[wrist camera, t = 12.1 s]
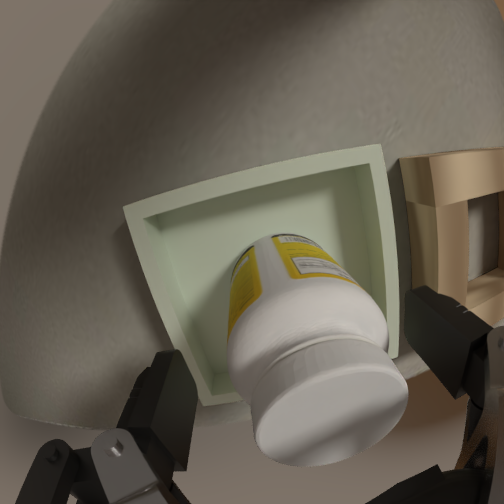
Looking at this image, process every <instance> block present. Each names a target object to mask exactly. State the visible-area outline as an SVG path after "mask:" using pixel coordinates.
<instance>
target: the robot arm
mask: <svg viewBox="0 0 504 504" xmlns="http://www.w3.org/2000/svg"><path fill="white" fill-rule="evenodd" d="M404 331H405V336H406V339H407V341H408V343H409V344H410V345H411V347H412V348H413V349H414V350H415V351H416V352H417V354H418V355H419V356H420V357H421V358H422V360H423V361H424V362H425V363H426V364H427V366H428V367H429V368H430V369H431V370H432V372H433V373H434V374H435V375H436V376H437V378H438V379H439V380H440V381H441V383H442V384H443V385H444V386H445V388H446V389H447V390H448V391H449V392H450V394H451V395H452V396H453V398H454V399H457V398H459V397H461V396H462V395H464V394H466V393H467V394H468V395H469V396H470V397H469V400H468V403H467V413H466V422H465V430H464V437H463V444H462V449H461V452H460V455H459V458H458V460H457V463H456V466H455V468H454V470H450V471H444V472H441V470H440V468H439V466H438V465H435V466H433V467H431V468H429V469H427V470H425V471H423V472H421V473H419V474H417V475H415V476H413V477H411V478H408V479H406V480H404V481H402V482H399V483H397V484H396V485H394V486H393V487H391V488H390V489H388V490H387V491H385V492H384V493H382V494H380V495H379V496H377V497H376V498H374V499H372V500H371V501H369V502H367V503H365V504H504V326H500V327H496V328H492V327H491V326H490V325H489V324H487V323H486V322H485V321H483V320H482V319H481V318H479V317H478V316H477V315H475V314H474V313H473V312H471V311H468V309H467V308H466V307H465V306H463V305H462V306H461V303H459V302H458V301H456V300H455V299H454V298H452V297H449V296H446V295H443V294H440V293H439V294H438V293H437V292H435V291H434V290H432V289H431V288H430V287H428V286H427V285H423V286H420V287H417V288H415V289H412V290H409V291H407V292H406V294H405V319H404ZM197 400H198V390H197V386H196V383H195V380H194V378H193V376H192V374H191V372H190V370H189V368H188V366H187V364H186V361H185V359H184V357H183V355H182V353H181V352H180V350H178V349H175V350H168V351H162V352H157V353H156V355H155V358H154V360H153V362H152V365H151V367H147V368H146V369H145V370H144V371H143V372H142V373H141V374H140V375H139V376H138V378H137V380H136V382H135V384H134V387H133V390H132V391H131V393H130V398H128V400H127V403H126V405H125V407H124V410H123V412H122V415H121V417H120V419H119V422H118V424H117V427H116V428H114V429H110V430H107V431H105V432H103V433H101V434H100V435H99V436H98V437H97V438H96V439H95V440H94V442H93V444H92V446H91V447H89V448H83V449H77V450H73V449H72V448H71V447H70V446H69V445H68V444H67V443H66V442H65V441H63V440H60V439H54V440H51V441H49V442H47V443H45V444H44V445H43V446H42V447H41V448H40V449H39V451H38V453H37V455H36V457H35V459H34V461H33V464H32V466H31V468H30V470H29V472H28V474H27V477H26V479H25V481H24V484H23V486H22V488H21V491H20V493H19V496H18V498H17V500H16V503H15V504H67V501H68V497H69V494H71V495H72V496H74V497H75V498H76V499H77V503H76V504H191V503H190V502H189V500H188V499H187V498H186V497H185V495H184V494H183V493H182V492H181V490H180V489H179V487H178V486H177V485H176V483H175V482H174V481H173V480H172V477H173V472H174V471H186V470H187V463H188V457H189V450H190V443H191V437H192V431H193V424H194V418H195V412H196V406H197Z"/></svg>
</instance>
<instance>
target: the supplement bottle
mask: <svg viewBox="0 0 504 504" xmlns="http://www.w3.org/2000/svg"><path fill="white" fill-rule="evenodd" d="M388 349H389V331H388V327H387V323H386V320H385V318H384V315H383V313H382V311H381V310H380V308H379V306H378V305H377V304H376V303H375V301H374V300H373V299H372V297H371V296H370V295H369V294H368V293H367V292H366V291H365V290H364V289H363V288H362V287H361V286H360V285H359V284H358V283H357V282H356V281H355V280H354V279H353V278H352V277H351V276H350V275H349V274H348V273H347V272H346V271H345V270H344V269H343V268H342V267H341V266H340V265H339V264H338V263H337V262H336V261H335V260H334V259H333V258H332V257H331V256H330V255H329V254H328V253H327V252H326V251H325V250H323V248H322V247H320V246H319V245H318V244H317V243H315V242H314V241H312V240H310V239H309V238H307V237H304V236H302V235H299V234H294V233H275V234H270V235H267V236H264V237H262V238H260V239H258V240H256V241H255V242H253V243H252V244H251V245H249V246H248V247H247V248H246V249H245V250H244V251H243V252H242V254H241V255H240V256H239V258H238V260H237V261H236V263H235V265H234V268H233V272H232V276H231V284H230V301H229V319H228V335H227V367H228V373H229V376H230V379H231V381H232V384H233V386H234V388H235V389H236V391H237V392H238V394H239V395H240V396H241V397H242V398H243V399H244V400H245V401H246V402H247V403H248V404H249V405H250V406H251V414H252V421H253V432H254V438H255V442H256V444H257V446H258V448H259V449H260V451H262V453H263V454H264V455H266V456H267V457H269V458H270V459H272V460H274V461H276V462H279V463H282V464H286V465H290V466H319V465H325V464H330V463H335V462H338V461H341V460H344V459H347V458H350V457H352V456H354V455H357V454H359V453H361V452H363V451H365V450H366V449H368V448H369V447H371V446H373V445H374V444H376V443H377V442H378V441H379V440H381V439H382V438H383V437H385V436H386V434H388V433H389V432H390V431H391V430H392V429H393V427H394V426H395V425H396V424H397V423H398V421H399V420H400V418H401V416H402V415H403V413H404V410H405V408H406V405H407V402H408V388H407V384H406V381H405V379H404V378H403V376H402V375H401V373H400V372H399V370H398V369H397V367H396V366H395V364H394V363H393V361H392V360H391V358H390V357H389V355H388Z"/></svg>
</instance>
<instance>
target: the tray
mask: <svg viewBox="0 0 504 504" xmlns="http://www.w3.org/2000/svg"><path fill="white" fill-rule="evenodd" d="M123 210H124V214H125V217H126V221H127V224H128V227H129V230H130V233H131V237H132V240H133V243H134V246H135V249H136V252H137V255H138V258H139V261H140V263H141V266H142V269H143V272H144V275H145V277H146V280H147V283H148V285H149V288H150V291H151V293H152V296H153V299H154V301H155V304H156V306H157V309H158V311H159V313H160V316H161V318H162V321H163V323H164V325H165V328H166V330H167V332H168V335H169V337H170V339H171V341H172V344H173V346H174V348H175V349H178V350H180V352H181V353H182V355H183V357H184V359H185V361H186V364H187V366H188V368H189V370H190V372H191V374H192V376H193V378H194V380H195V383H196V386H197V390H198V397H199V399H200V401H201V403H202V405H203V406H210V405H218V404H225V403H231V402H237V401H243V400H244V399H243V398H242V397H241V396H240V395H239V394H238V392H237V391H236V389H235V388H234V386H233V384H232V381H231V379H230V376H229V373H228V367H227V335H228V319H229V301H230V284H231V276H232V272H233V268H234V265H235V263H236V261H237V260H238V258H239V256H240V255H241V254H242V252H243V251H244V250H245V249H246V248H247V247H248V246H249V245H251V244H252V243H253V242H255V241H256V240H258V239H260V238H262V237H264V236H267V235H270V234H275V233H294V234H299V235H302V236H304V237H307V238H309V239H310V240H312V241H314V242H315V243H317V244H318V245H319V246H320V247H322V248H323V250H325V251H326V252H327V253H328V254H329V255H330V256H331V257H332V258H333V259H334V260H335V261H336V262H337V263H338V264H339V265H340V266H341V267H342V268H343V269H344V270H345V271H346V272H347V273H348V274H349V275H350V276H351V277H352V278H353V279H354V280H355V281H356V282H357V283H358V284H359V285H360V286H361V287H362V288H363V289H364V290H365V291H366V292H367V293H368V294H369V295H370V296H371V297H372V299H373V300H374V301H375V303H376V304H377V305H378V306H379V308H380V310H381V311H382V313H383V315H384V318H385V320H386V323H387V327H388V331H389V349H388V355H389V357H390V358H391V359H393V358H396V357H398V348H399V279H398V261H397V248H396V237H395V228H394V219H393V211H392V204H391V197H390V191H389V184H388V179H387V173H386V168H385V163H384V158H383V153H382V148H381V144H375V145H368V146H361V147H355V148H349V149H343V150H337V151H331V152H326V153H320V154H315V155H310V156H305V157H300V158H295V159H290V160H286V161H281V162H277V163H272V164H268V165H263V166H259V167H255V168H251V169H247V170H243V171H239V172H235V173H231V174H227V175H223V176H220V177H216V178H212V179H209V180H205V181H202V182H198V183H195V184H191V185H188V186H185V187H181V188H178V189H175V190H171V191H168V192H165V193H162V194H159V195H156V196H153V197H149V198H146V199H143V200H140V201H138V202H135V203H132V204H129V205H126V206H123Z"/></svg>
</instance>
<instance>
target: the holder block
mask: <svg viewBox="0 0 504 504" xmlns="http://www.w3.org/2000/svg"><path fill="white" fill-rule="evenodd" d="M399 162H400V168H401V173H402V179H403V186H404V192H405V199H406V207H407V216H408V225H409V236H410V250H411V270H412V289H415V288H417V287H420V286H423V285H427V286H428V287H430V288H431V289H432V290H434V291H435V292H437V293H438V294H439V293H440V294H443V295H446V296H449V297H452V298H454V299H455V300H456V301H458V302H459V303H461V306H462V305H463V306H465V307H466V308H467V309H468V311H471V312H473V313H474V314H475V315H477V316H478V317H479V318H481V319H482V320H483V321H485V322H486V323H487V324H489V325H490V326H491V325H493V324H495V323H496V322H498V321H499V320H501V319H502V318H504V147H492V148H480V149H469V150H459V151H449V152H441V153H433V154H425V155H418V156H410V157H404V158H399ZM496 192H498V200H499V254H498V268H496V269H494V270H492V271H490V272H488V273H486V274H484V275H482V276H480V277H477V278H475V279H473V280H471V281H469V282H468V266H469V222H468V204H467V200H468V199H472V198H476V197H480V196H484V195H488V194H492V193H496Z"/></svg>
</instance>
